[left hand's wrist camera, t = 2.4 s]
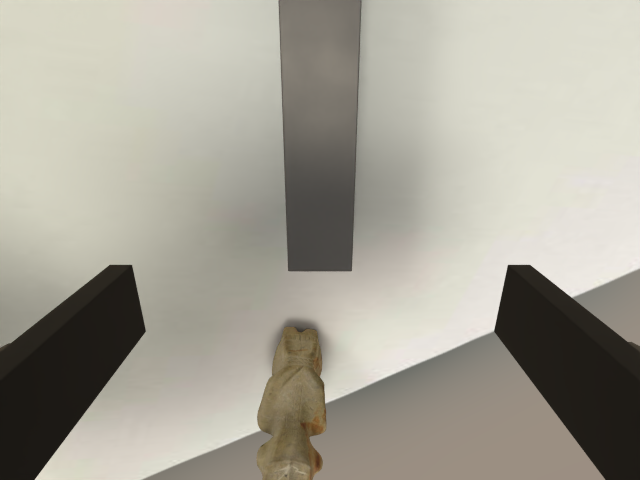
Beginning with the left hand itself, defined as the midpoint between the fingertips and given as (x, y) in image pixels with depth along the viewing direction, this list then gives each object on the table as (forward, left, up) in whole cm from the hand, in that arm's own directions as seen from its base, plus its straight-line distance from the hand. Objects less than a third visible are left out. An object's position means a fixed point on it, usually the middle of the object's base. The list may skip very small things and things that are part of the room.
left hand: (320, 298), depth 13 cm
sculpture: (-11, -14, -21) cm, 28 cm away
